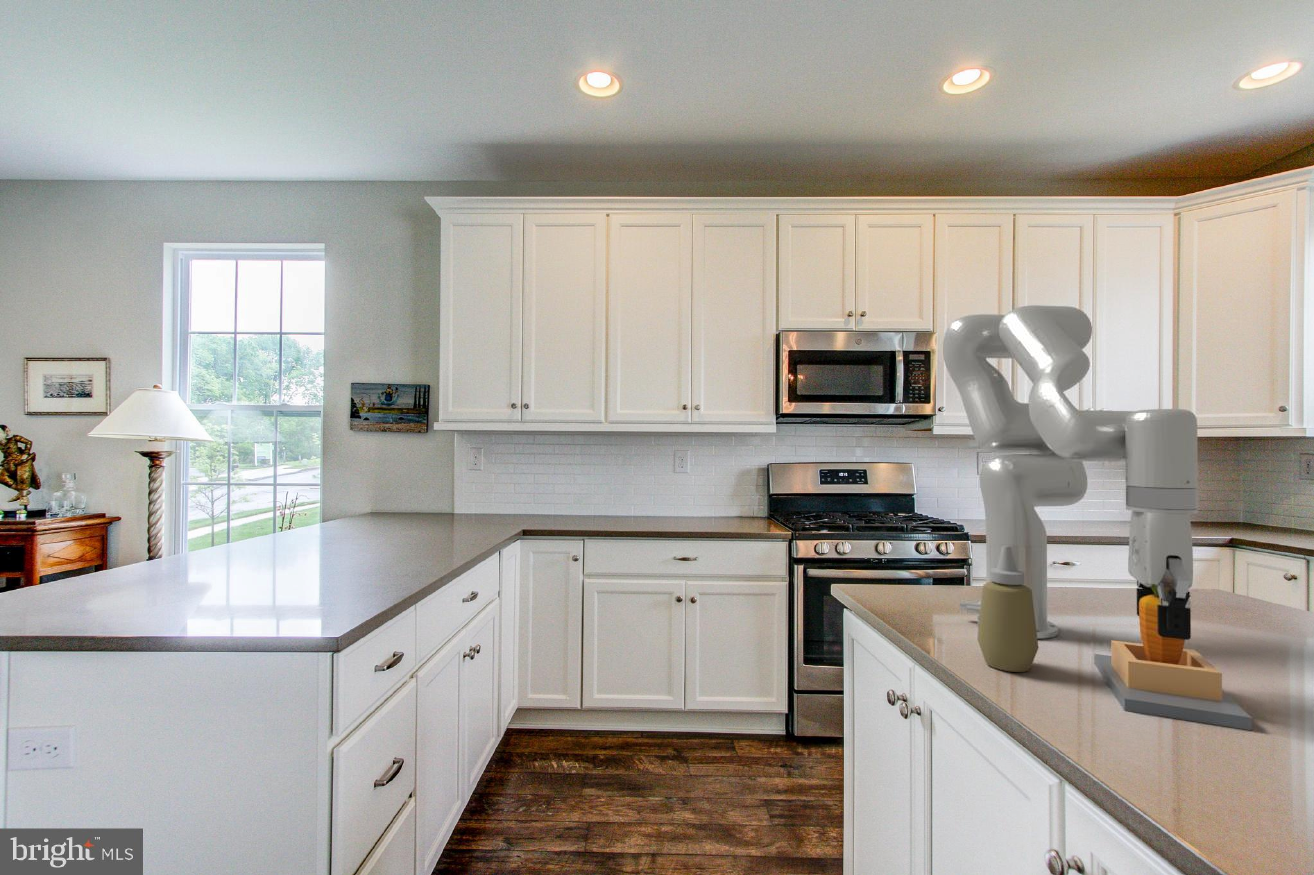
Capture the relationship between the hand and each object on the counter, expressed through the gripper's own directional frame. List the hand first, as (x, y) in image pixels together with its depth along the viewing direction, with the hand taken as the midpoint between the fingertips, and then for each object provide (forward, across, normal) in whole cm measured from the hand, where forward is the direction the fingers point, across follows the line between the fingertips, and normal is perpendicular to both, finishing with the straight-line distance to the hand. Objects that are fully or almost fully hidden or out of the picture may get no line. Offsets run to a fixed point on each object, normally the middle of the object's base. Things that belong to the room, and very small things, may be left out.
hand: (1162, 627), depth 81 cm
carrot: (+7, 0, 0) cm, 8 cm away
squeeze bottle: (+9, -2, -18) cm, 20 cm away
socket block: (+9, 0, 0) cm, 9 cm away
